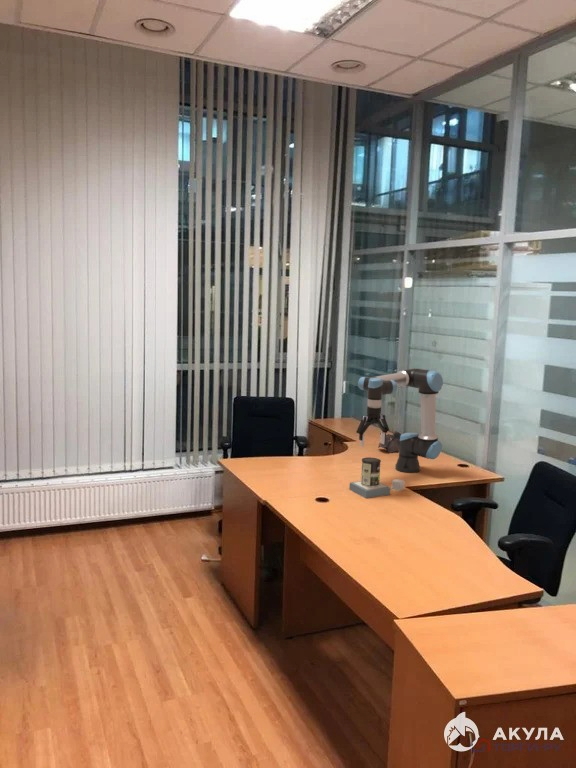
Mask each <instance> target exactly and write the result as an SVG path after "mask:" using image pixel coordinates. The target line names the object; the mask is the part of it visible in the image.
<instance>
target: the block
mask: <svg viewBox="0 0 576 768" xmlns="http://www.w3.org/2000/svg"><path fill="white" fill-rule="evenodd" d="M391 490H394V491H397V492H401V491H404V490H405V480H404V479H399V478H396V479H395V478H394V479H393V480H391Z"/></svg>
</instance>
